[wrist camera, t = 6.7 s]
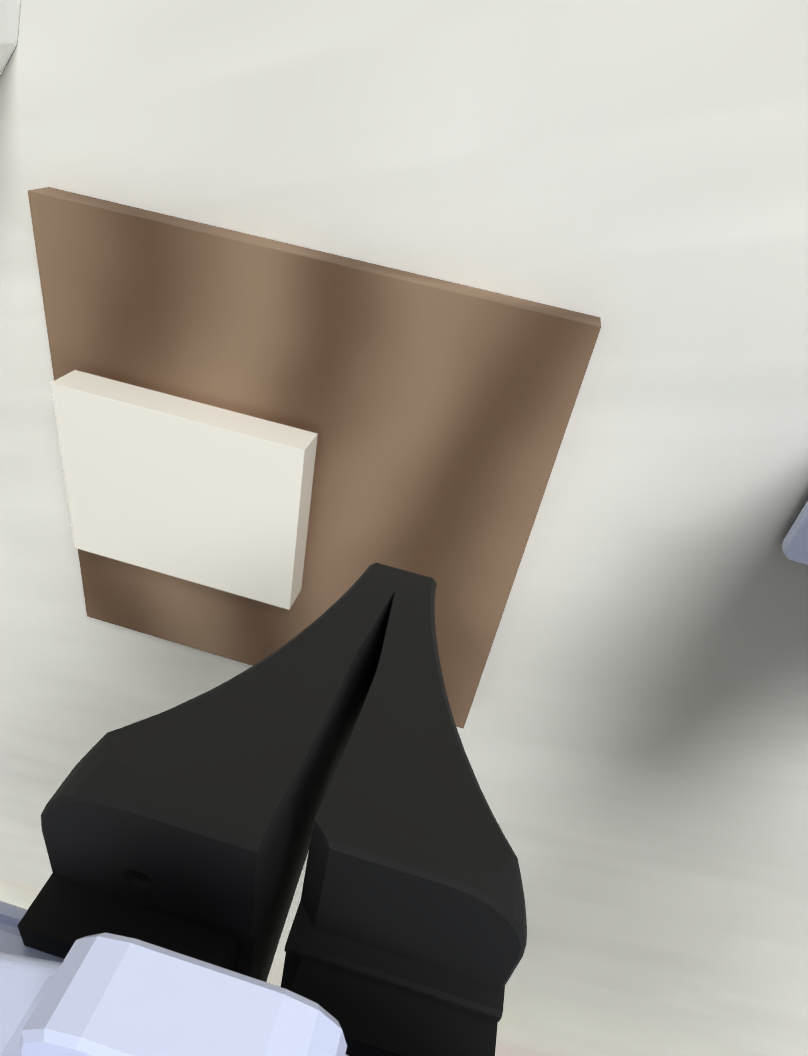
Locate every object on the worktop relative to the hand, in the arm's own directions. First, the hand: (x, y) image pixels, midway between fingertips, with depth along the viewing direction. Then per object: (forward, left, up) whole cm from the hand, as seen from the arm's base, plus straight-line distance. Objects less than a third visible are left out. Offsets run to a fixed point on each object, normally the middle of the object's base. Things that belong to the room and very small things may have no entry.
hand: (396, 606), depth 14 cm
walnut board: (+6, +5, -10) cm, 13 cm away
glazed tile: (+5, +5, -9) cm, 11 cm away
